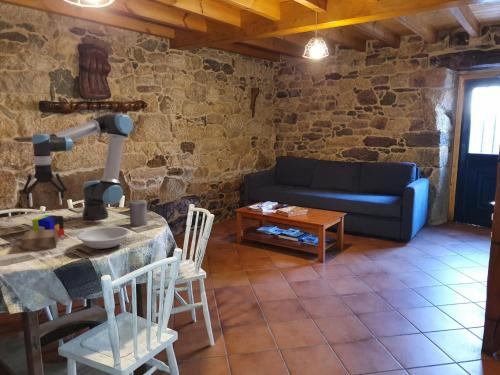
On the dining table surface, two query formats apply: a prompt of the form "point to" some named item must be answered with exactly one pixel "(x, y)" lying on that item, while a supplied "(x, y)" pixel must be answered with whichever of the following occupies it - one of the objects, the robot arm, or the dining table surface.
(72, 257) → the dining table surface
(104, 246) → the soup bowl
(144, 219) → the pillar candle
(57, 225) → the puzzle toy
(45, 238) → the walnut base block
